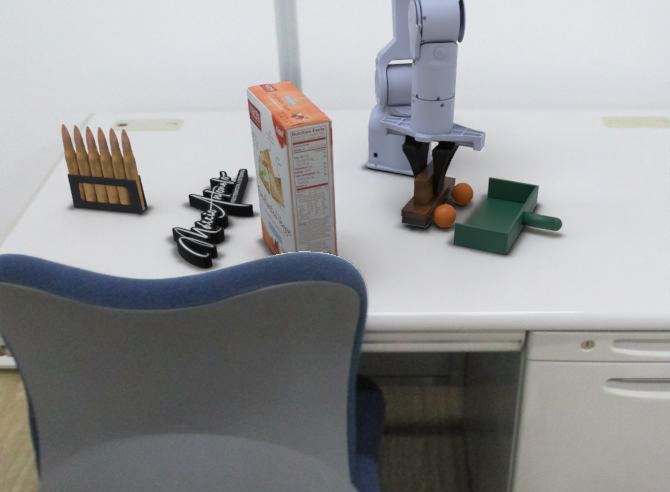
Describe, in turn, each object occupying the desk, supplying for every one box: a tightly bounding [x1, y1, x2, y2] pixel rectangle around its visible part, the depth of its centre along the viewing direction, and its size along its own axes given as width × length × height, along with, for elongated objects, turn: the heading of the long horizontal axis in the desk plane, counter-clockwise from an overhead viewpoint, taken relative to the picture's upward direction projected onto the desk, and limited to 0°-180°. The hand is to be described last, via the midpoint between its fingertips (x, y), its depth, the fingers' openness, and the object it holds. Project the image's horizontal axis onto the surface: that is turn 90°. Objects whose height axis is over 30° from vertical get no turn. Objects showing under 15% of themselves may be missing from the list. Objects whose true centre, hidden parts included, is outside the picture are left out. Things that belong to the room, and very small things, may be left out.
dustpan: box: [453, 176, 563, 255], centre depth 115 cm, size 13×16×3 cm
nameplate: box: [171, 168, 254, 269], centre depth 117 cm, size 27×2×10 cm
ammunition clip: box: [60, 123, 149, 215], centre depth 117 cm, size 11×2×12 cm, turn 79°
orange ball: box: [450, 182, 474, 206], centre depth 121 cm, size 3×3×3 cm
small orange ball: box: [433, 203, 457, 229], centre depth 115 cm, size 3×3×3 cm
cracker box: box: [246, 80, 338, 256], centre depth 102 cm, size 14×6×21 cm, turn 24°
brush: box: [400, 160, 457, 228], centre depth 118 cm, size 4×13×6 cm, turn 157°
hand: (429, 190), depth 118 cm, fingers closed on brush, 2 cm apart
